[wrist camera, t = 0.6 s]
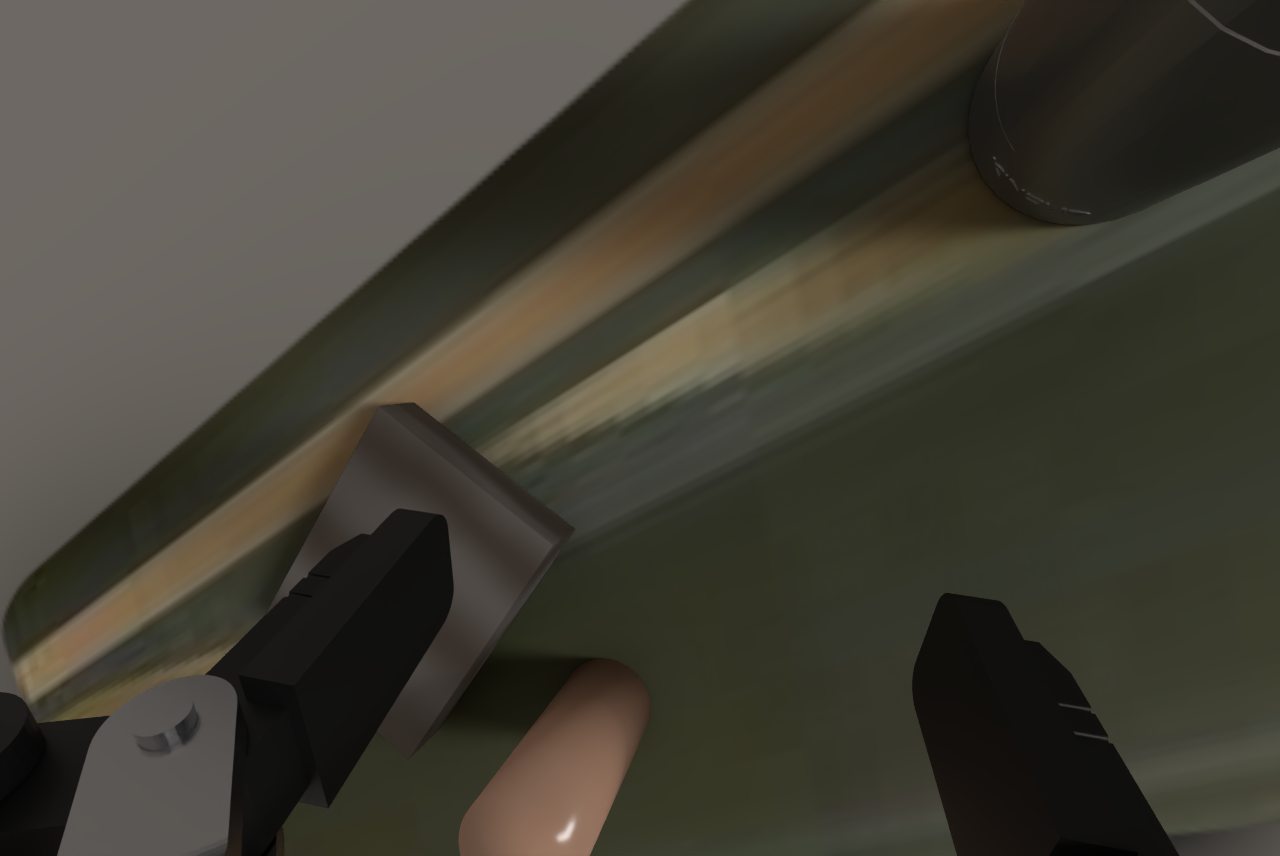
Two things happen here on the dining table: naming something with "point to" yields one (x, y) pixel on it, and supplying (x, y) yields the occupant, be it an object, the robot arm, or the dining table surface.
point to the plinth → (479, 543)
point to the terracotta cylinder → (563, 769)
